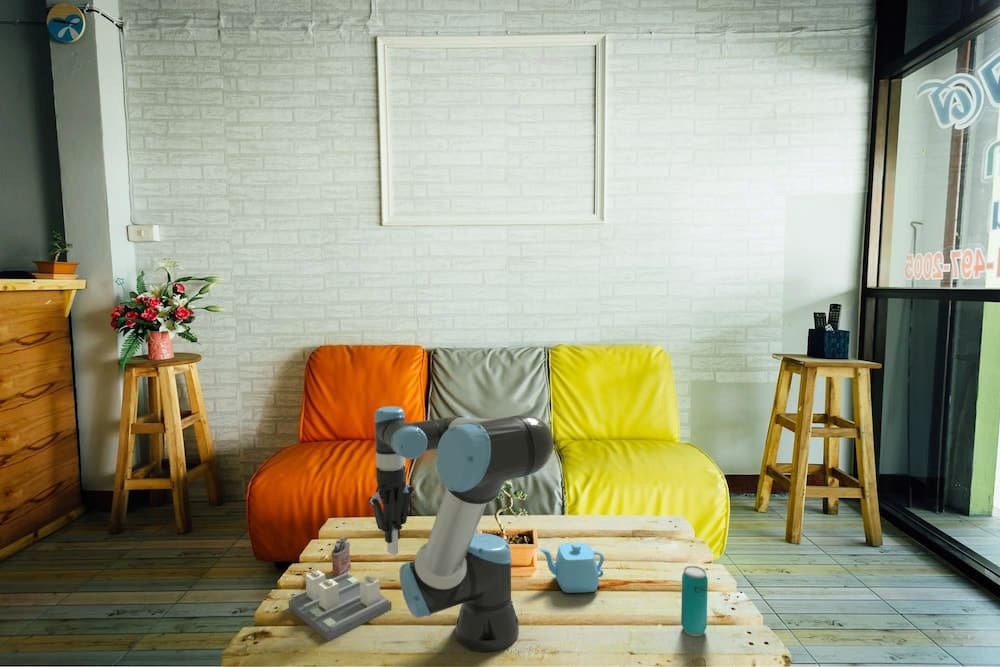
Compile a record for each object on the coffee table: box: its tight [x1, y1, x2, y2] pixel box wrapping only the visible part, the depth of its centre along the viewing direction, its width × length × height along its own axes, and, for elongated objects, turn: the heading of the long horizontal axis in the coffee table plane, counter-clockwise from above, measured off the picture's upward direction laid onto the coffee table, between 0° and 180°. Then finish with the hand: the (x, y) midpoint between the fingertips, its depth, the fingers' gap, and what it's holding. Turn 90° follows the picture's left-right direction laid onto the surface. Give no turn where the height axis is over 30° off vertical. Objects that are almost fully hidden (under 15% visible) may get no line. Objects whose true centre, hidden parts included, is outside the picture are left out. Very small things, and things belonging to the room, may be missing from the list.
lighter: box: [330, 535, 352, 579], centre depth 165 cm, size 8×3×10 cm, turn 168°
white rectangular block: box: [318, 578, 339, 611], centre depth 144 cm, size 4×4×6 cm
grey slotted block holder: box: [287, 572, 393, 642], centre depth 147 cm, size 20×18×3 cm
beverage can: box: [680, 565, 709, 638], centre depth 135 cm, size 6×6×15 cm
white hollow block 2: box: [359, 575, 381, 607], centre depth 146 cm, size 4×4×6 cm
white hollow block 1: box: [305, 569, 327, 601], centre depth 149 cm, size 4×4×6 cm
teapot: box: [538, 542, 605, 594], centre depth 157 cm, size 12×18×12 cm
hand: (392, 552), depth 151 cm, fingers closed
